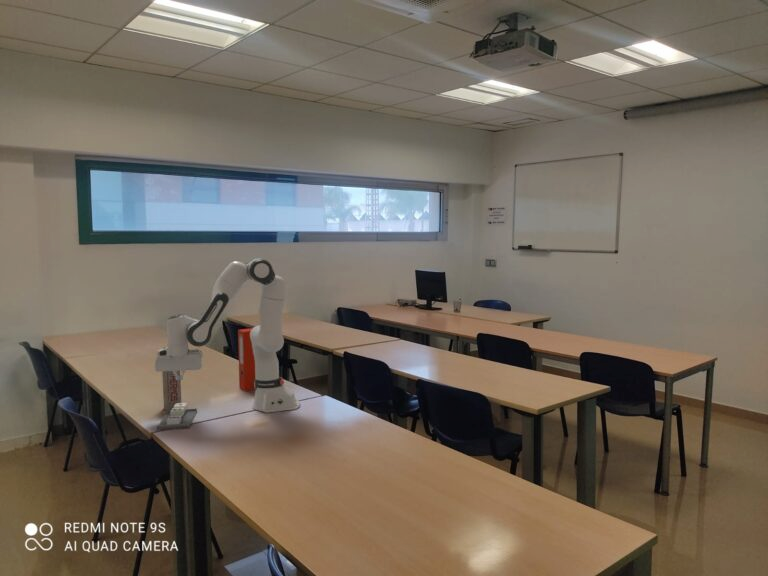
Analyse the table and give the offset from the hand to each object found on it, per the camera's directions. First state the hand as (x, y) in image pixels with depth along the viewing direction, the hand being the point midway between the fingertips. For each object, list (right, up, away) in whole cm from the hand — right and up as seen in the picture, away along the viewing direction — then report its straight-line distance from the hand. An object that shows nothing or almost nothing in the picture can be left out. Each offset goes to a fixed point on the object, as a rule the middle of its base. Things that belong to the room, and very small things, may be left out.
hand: (179, 379), depth 244 cm
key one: (0, -14, +2) cm, 14 cm away
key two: (+1, -15, -5) cm, 16 cm away
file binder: (+24, -12, +48) cm, 55 cm away
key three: (+2, -17, -12) cm, 21 cm away
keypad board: (+1, -18, -5) cm, 18 cm away
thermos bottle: (-8, -16, +13) cm, 22 cm away
